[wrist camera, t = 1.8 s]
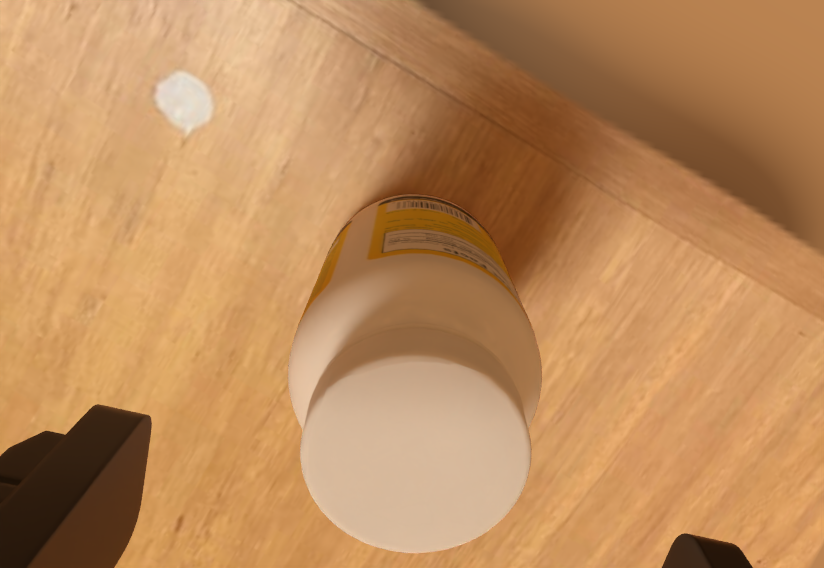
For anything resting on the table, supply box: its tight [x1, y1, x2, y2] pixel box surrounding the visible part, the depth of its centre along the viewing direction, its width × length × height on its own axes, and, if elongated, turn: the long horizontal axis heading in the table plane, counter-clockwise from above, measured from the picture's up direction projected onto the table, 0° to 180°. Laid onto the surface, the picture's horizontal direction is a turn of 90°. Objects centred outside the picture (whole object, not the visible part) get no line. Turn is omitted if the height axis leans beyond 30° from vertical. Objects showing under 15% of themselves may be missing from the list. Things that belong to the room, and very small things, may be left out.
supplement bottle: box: [288, 194, 542, 553], centre depth 16 cm, size 5×5×10 cm
